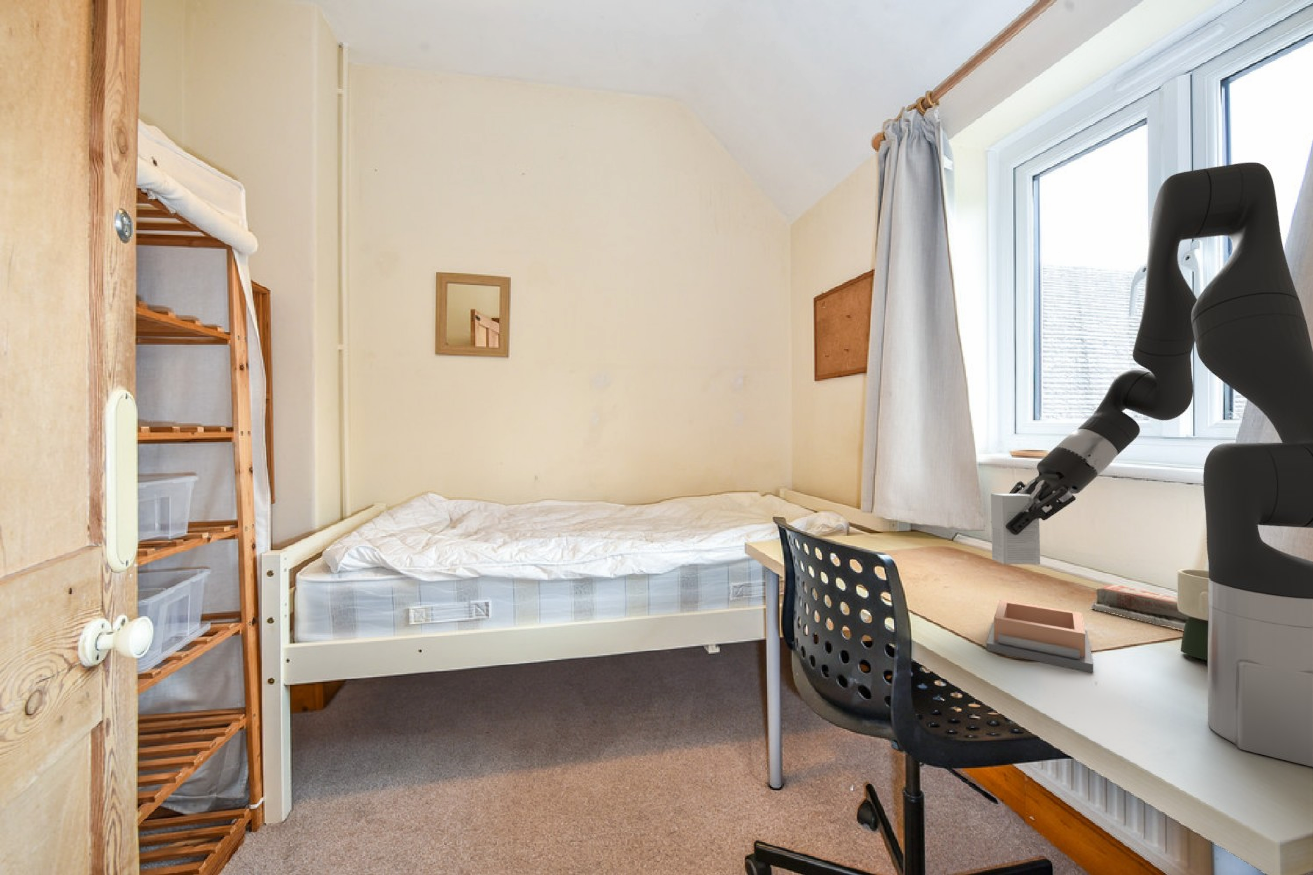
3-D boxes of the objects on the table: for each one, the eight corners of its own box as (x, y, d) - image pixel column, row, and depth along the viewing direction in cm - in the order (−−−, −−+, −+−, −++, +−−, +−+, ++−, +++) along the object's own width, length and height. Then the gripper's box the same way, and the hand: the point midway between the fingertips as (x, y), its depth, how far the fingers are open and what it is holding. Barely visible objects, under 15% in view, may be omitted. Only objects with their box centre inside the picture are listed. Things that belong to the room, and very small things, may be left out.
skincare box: (1025, 559, 95) (1025, 493, 95) (1040, 565, 91) (1040, 495, 91) (990, 559, 96) (989, 493, 96) (1003, 564, 91) (1003, 495, 91)
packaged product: (1089, 586, 103) (1111, 579, 108) (1089, 611, 103) (1111, 603, 108) (1221, 613, 87) (1240, 604, 92) (1221, 643, 87) (1240, 631, 92)
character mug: (1240, 679, 73) (1241, 586, 73) (1170, 661, 79) (1170, 575, 79) (1249, 658, 80) (1249, 573, 80) (1183, 644, 86) (1183, 564, 86)
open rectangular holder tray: (1093, 672, 76) (1093, 640, 76) (986, 650, 83) (986, 620, 83) (1087, 637, 88) (1087, 609, 88) (995, 621, 96) (995, 595, 96)
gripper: (1035, 445, 100) (967, 508, 101) (1088, 446, 85) (1008, 519, 87) (1065, 473, 99) (997, 537, 100) (1124, 479, 85) (1043, 552, 86)
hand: (1003, 528), depth 93 cm, fingers closed on skincare box, 4 cm apart
